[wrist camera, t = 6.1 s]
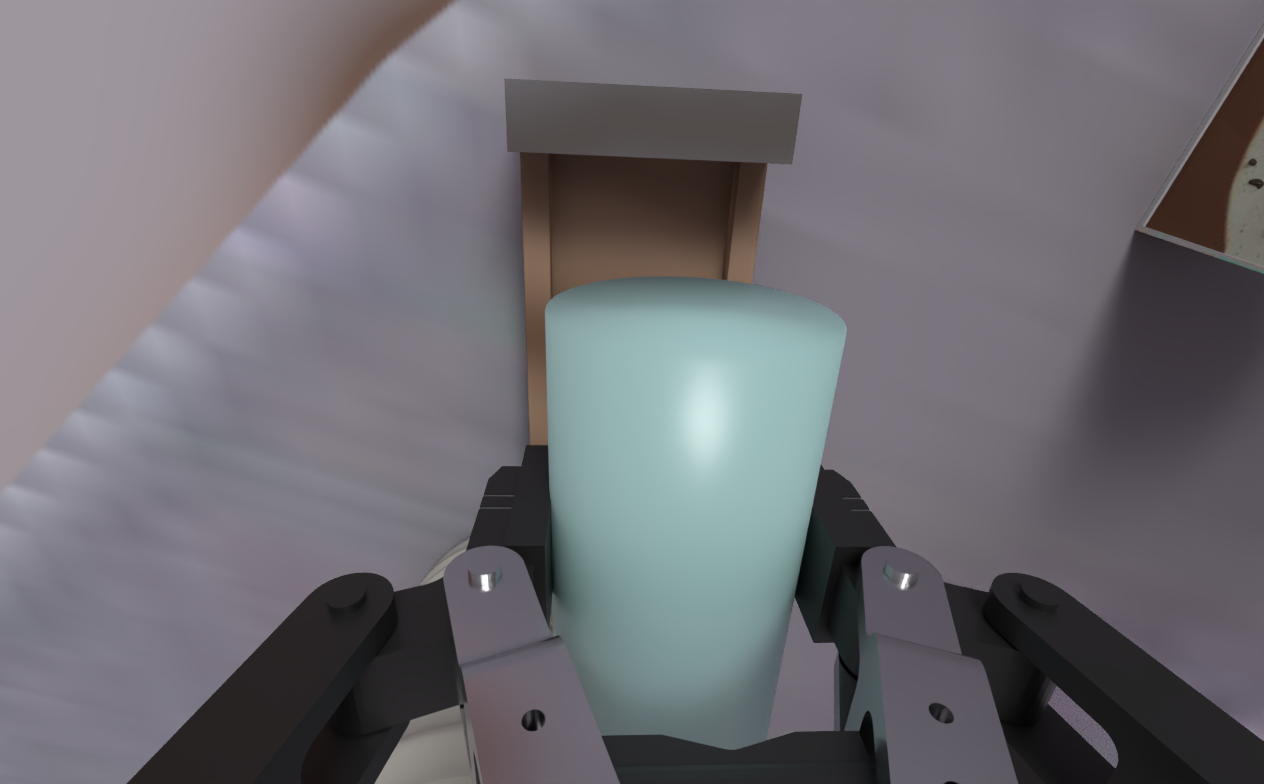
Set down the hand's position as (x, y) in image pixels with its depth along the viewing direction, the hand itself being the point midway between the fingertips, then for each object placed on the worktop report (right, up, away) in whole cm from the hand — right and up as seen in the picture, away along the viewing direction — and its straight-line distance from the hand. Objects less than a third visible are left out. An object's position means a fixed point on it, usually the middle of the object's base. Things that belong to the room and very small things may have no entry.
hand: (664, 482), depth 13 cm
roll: (0, -1, -1) cm, 2 cm away
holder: (-1, +6, +13) cm, 14 cm away
